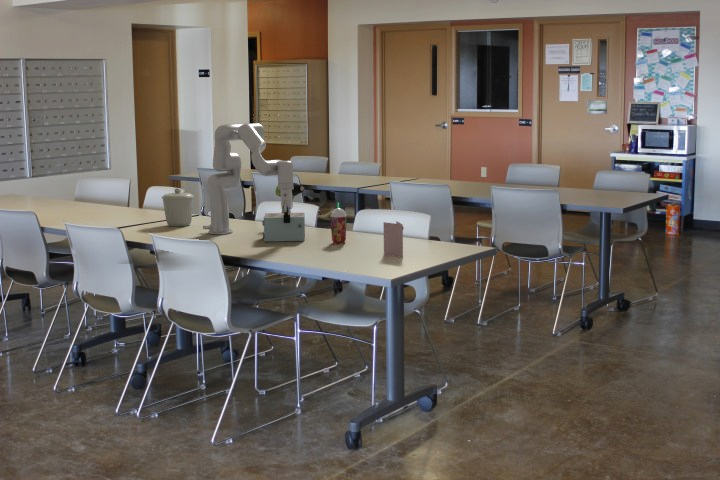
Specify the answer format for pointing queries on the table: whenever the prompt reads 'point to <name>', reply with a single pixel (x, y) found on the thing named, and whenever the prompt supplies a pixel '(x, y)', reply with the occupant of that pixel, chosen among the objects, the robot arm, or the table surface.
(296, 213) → the cabinet
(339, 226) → the smoothie
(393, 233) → the greeting card
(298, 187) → the cordless drill
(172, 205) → the canister
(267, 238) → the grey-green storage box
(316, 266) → the table surface
